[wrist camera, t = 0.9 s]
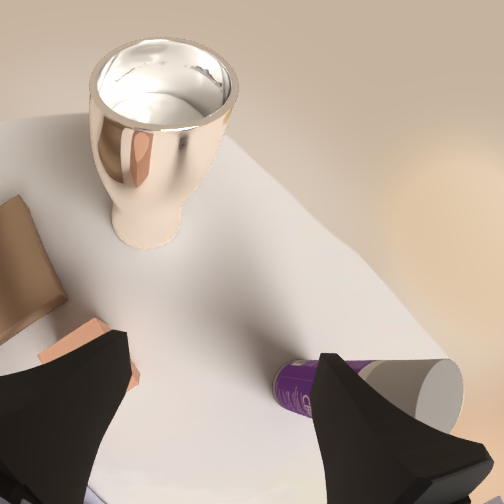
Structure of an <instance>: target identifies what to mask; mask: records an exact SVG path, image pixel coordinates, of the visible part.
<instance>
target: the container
mask: <svg viewBox="0 0 504 504" xmlns="http://www.w3.org/2000/svg"><path fill="white" fill-rule="evenodd" d="M318 362H319V360H293V361H290V362H288V363H286V364H284V365H283V366H282V367H281V368H280V369H279V370H278V372H277V373H276V375H275V378H274V381H273V394H274V397H275V399H276V401H277V402H278V404H279V405H280V406H282V407H283V408H285V409H287V410H290V411H292V412H295V413H298V414H301V415H303V416H306V417H309V418H312V412H311V403H310V391H311V387H312V384H313V380H314V377H315V373H316V369H317V365H318ZM345 362H346V363H347V364H348V365H349V366H350V367H351V368H352V369H353V370H354V371H355V372H356V373H357V374H358V375H359V376H360V377H361V378H362V379H363V380H365V381H366V382H367V383H368V384H369V385H370V386H371V387H372V388H373V389H375V390H376V391H377V392H378V393H379V394H381V395H382V396H383V397H384V398H386V399H387V400H388V401H389V402H391V403H392V404H393V405H395V406H396V407H398V408H399V409H401V410H402V411H404V412H405V413H407V414H408V415H410V416H412V417H413V418H415V419H417V420H419V421H421V422H423V423H425V424H427V425H429V426H430V427H433V428H435V429H437V430H439V431H442V432H444V433H447V434H449V433H450V432H451V430H452V429H453V427H454V425H455V423H456V421H457V419H458V416H459V414H460V410H461V406H462V401H463V380H462V375H461V372H460V370H459V368H458V366H457V365H456V363H455V362H453V361H452V360H450V359H430V360H365V361H345Z"/></svg>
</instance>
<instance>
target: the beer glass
mask: <svg viewBox="0 0 504 504" xmlns="http://www.w3.org/2000/svg"><path fill="white" fill-rule="evenodd" d="M89 90H90V107H89V128H90V139H91V148H92V153H93V157H94V162H95V166H96V169H97V171H98V174H99V176H100V178H101V181H102V183H103V185H104V187H105V189H106V190H107V192H108V194H109V196H110V197H111V199H112V201H113V207H112V214H111V218H112V225H113V228H114V230H115V232H116V234H117V235H118V236H119V238H120V239H121V240H122V241H124V242H125V243H126V244H128V245H130V246H132V247H134V248H138V249H145V250H148V249H155V248H159V247H161V246H163V245H165V244H167V243H168V242H169V241H171V240H172V239H173V238H174V237H175V235H176V234H177V233H178V231H179V229H180V226H181V223H182V216H183V214H182V206H183V204H184V203H185V202H186V201H187V200H188V199H189V197H190V196H191V195H192V194H193V192H194V191H195V190H196V189H197V187H198V186H199V184H200V183H201V182H202V180H203V179H204V177H205V176H206V174H207V172H208V171H209V169H210V167H211V165H212V163H213V161H214V159H215V157H216V154H217V152H218V149H219V147H220V144H221V142H222V139H223V136H224V133H225V130H226V127H227V124H228V121H229V117H230V114H231V111H232V108H233V105H234V104H235V102H236V100H237V97H238V92H239V83H238V79H237V76H236V74H235V72H234V70H233V68H232V67H231V66H230V64H229V63H228V62H227V61H226V60H225V59H224V58H223V57H222V56H220V55H219V54H218V53H216V52H215V51H213V50H212V49H210V48H208V47H206V46H204V45H201V44H199V43H196V42H192V41H189V40H185V39H179V38H171V37H152V38H145V39H139V40H135V41H132V42H129V43H126V44H123V45H121V46H119V47H117V48H115V49H114V50H112V51H111V52H109V53H108V54H106V55H105V56H104V57H103V58H102V59H101V60H100V61H99V62H98V64H97V65H96V66H95V68H94V70H93V72H92V74H91V77H90V82H89Z"/></svg>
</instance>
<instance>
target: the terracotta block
mask: <svg viewBox="0 0 504 504" xmlns="http://www.w3.org/2000/svg"><path fill="white" fill-rule="evenodd" d="M108 331H111V330H110V328H109V327H108V325H107V324H106V323H104V322H102V321H100V320H99V319H97V318H95V317H94V318H93V319H91V320H90V321H88V322H86V323H85V324H83V325H82V326H80V327H79V328H77V329H76V330H74V331H73V332H71V333H70V334H68V335H67V336H65V337H64V338H62V339H61V340H59V341H58V342H56V343H55V344H53V345H52V346H50V347H49V348H47V349H46V350H44V351H43V352H41V353H40V354H38V355H37V356H38V358H39V359H40V361H41V363H42V365H43V364H45V363H48V362H50V361H52V360H54V359H56V358H59V357H61V356H63V355H65V354H67V353H69V352H71V351H73V350H75V349H77V348H79V347H80V346H82V345H84V344H86V343H88V342H90V341H91V340H93V339H95V338H97V337H99V336H101V335H102V334H104V333H106V332H108ZM130 362H131V360H130ZM131 368H132V377H131V379H130V382H129V385H128V388H127V391H129V390H130V389H132V388H133V387H135V386H136V385H138V384H139V378H140V373H139V371H138V370H137V369H136V367H135V366H134V364H133V363H132V362H131ZM127 391H126V392H127Z"/></svg>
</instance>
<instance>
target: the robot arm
mask: <svg viewBox="0 0 504 504" xmlns="http://www.w3.org/2000/svg"><path fill="white" fill-rule="evenodd" d="M131 377H132V368H131V362H130V354H129V347H128V338H127V332H123V331H118V330H111V331H108V332H106V333H104V334H102V335H101V336H99V337H97V338H95V339H93V340H91V341H90V342H88V343H86V344H84V345H82V346H80V347H79V348H77V349H75V350H73V351H71V352H69V353H67V354H65V355H63V356H61V357H59V358H56V359H54V360H52V361H50V362H48V363H45V364H43V365H40V366H37V367H34V368H31V369H28V370H25V371H21V372H17V373H13V374H9V375H5V376H0V504H105V503H104V502H103V501H102V500H101V499H100V498H99V497H98V496H97V495H96V494H95V493H94V492H93V491H92V490H91V489H90V488H89V487H88V486H87V485H88V480H89V477H90V473H91V470H92V466H93V463H94V460H95V457H96V454H97V451H98V448H99V445H100V443H101V441H102V438H103V436H104V434H105V432H106V430H107V428H108V426H109V424H110V423H111V421H112V419H113V417H114V415H115V413H116V411H117V409H118V407H119V405H120V404H121V402H122V400H123V398H124V396H125V393H126V391H127V388H128V385H129V382H130V379H131ZM310 403H311V412H312V419H313V423H314V427H315V431H316V435H317V439H318V444H319V448H320V452H321V456H322V460H323V465H324V471H325V480H326V490H327V504H471V500H470V498H469V496H468V495H469V494H470V493H471V492H472V491H473V490H474V489H475V488H476V487H477V486H478V485H479V484H480V483H481V482H482V481H483V480H484V479H485V478H486V477H487V475H488V474H489V473H490V471H491V470H492V468H493V464H494V461H493V459H492V458H491V456H490V455H489V453H488V451H487V450H486V448H485V447H484V445H483V444H481V443H477V442H472V441H469V440H465V439H462V438H457V437H455V436H452V435H450V434H447V433H444V432H442V431H439V430H437V429H435V428H433V427H430V426H429V425H427V424H425V423H423V422H421V421H419V420H417V419H415V418H413V417H412V416H410V415H408V414H407V413H405V412H404V411H402V410H401V409H399V408H398V407H396V406H395V405H393V404H392V403H391V402H389V401H388V400H387V399H386V398H384V397H383V396H382V395H381V394H379V393H378V392H377V391H376V390H375V389H373V388H372V387H371V386H370V385H369V384H368V383H367V382H366V381H365V380H363V379H362V378H361V377H360V376H359V375H358V374H357V373H356V372H355V371H354V370H353V369H352V368H351V367H350V366H349V365H348V364H347V363H346V362H345V361H344V360H343V359H342V358H341V357H340V356H339V355H338V354H336V353H321V354H320V358H319V362H318V365H317V369H316V373H315V377H314V380H313V384H312V387H311V391H310ZM484 504H504V503H503V501H502V499H501V497H500V496H497V497H495V498H493V499H491V500H490V501H488V502H486V503H484Z"/></svg>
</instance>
